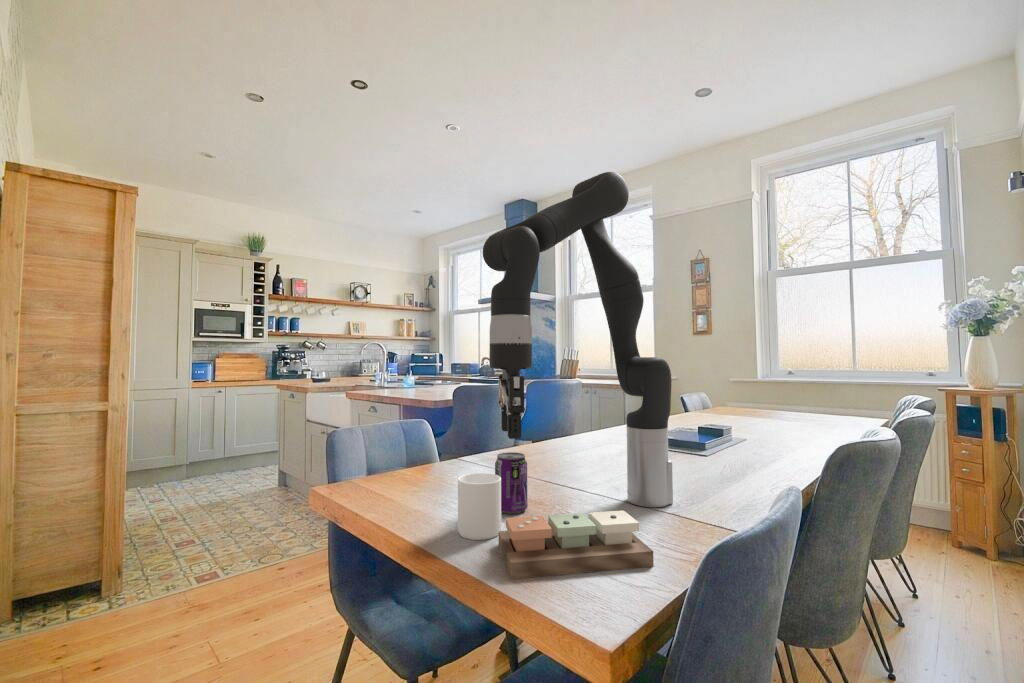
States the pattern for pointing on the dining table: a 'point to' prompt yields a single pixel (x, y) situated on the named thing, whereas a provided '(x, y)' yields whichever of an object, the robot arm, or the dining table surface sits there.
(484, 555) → the dining table surface
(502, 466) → the beverage can
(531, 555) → the keypad board
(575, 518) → the key two
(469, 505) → the mug
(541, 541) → the key three
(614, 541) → the key one
